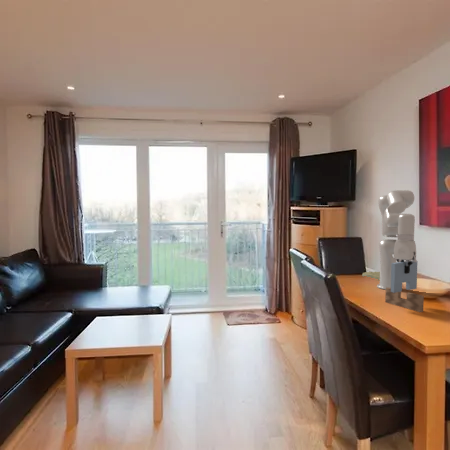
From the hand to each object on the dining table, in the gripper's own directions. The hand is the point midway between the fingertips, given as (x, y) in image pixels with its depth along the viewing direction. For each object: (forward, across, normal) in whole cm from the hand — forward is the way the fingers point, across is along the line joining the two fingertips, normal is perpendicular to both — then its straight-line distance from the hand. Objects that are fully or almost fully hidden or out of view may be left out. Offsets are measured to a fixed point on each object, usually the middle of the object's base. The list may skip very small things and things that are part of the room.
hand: (404, 272), depth 177 cm
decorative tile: (+19, -57, +54) cm, 80 cm away
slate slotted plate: (+9, 0, 0) cm, 9 cm away
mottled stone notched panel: (+18, 0, 0) cm, 18 cm away
